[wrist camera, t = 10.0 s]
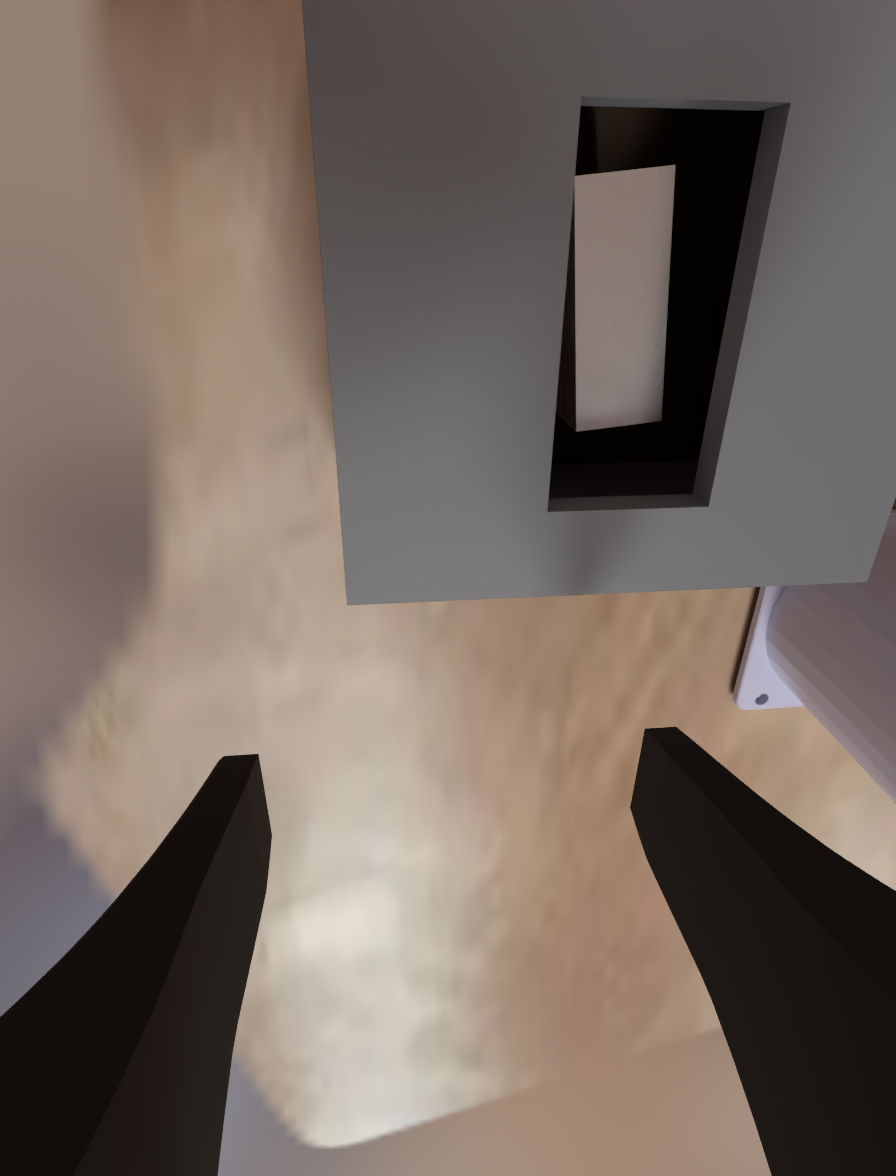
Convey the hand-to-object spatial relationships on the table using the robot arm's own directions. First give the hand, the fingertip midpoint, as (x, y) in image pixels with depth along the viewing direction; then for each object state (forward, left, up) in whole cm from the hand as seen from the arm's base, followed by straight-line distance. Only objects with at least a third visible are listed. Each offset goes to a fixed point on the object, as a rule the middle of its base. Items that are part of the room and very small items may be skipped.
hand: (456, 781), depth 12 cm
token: (-4, -8, -10) cm, 14 cm away
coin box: (-4, -8, -10) cm, 13 cm away
